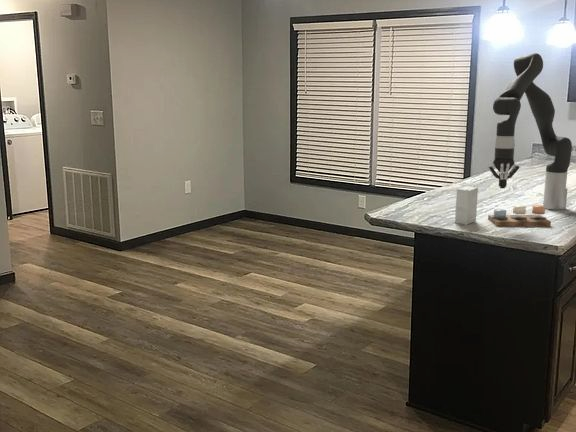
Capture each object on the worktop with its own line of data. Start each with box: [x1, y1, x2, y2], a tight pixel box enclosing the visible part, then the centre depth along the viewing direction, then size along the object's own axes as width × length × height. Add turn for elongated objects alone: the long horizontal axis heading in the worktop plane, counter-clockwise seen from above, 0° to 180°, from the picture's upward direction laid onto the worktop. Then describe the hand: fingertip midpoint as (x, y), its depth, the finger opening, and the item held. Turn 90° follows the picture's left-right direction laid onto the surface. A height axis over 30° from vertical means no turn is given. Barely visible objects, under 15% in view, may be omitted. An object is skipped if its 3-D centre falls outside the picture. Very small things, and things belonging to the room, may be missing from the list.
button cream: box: [512, 204, 527, 215], centre depth 276 cm, size 5×5×3 cm
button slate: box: [493, 208, 507, 219], centre depth 276 cm, size 5×5×3 cm
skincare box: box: [454, 185, 479, 225], centre depth 277 cm, size 8×6×15 cm
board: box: [487, 214, 552, 227], centre depth 277 cm, size 22×13×2 cm, turn 88°
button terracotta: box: [531, 204, 546, 215], centre depth 275 cm, size 5×5×3 cm
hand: (502, 188), depth 274 cm, fingers closed
